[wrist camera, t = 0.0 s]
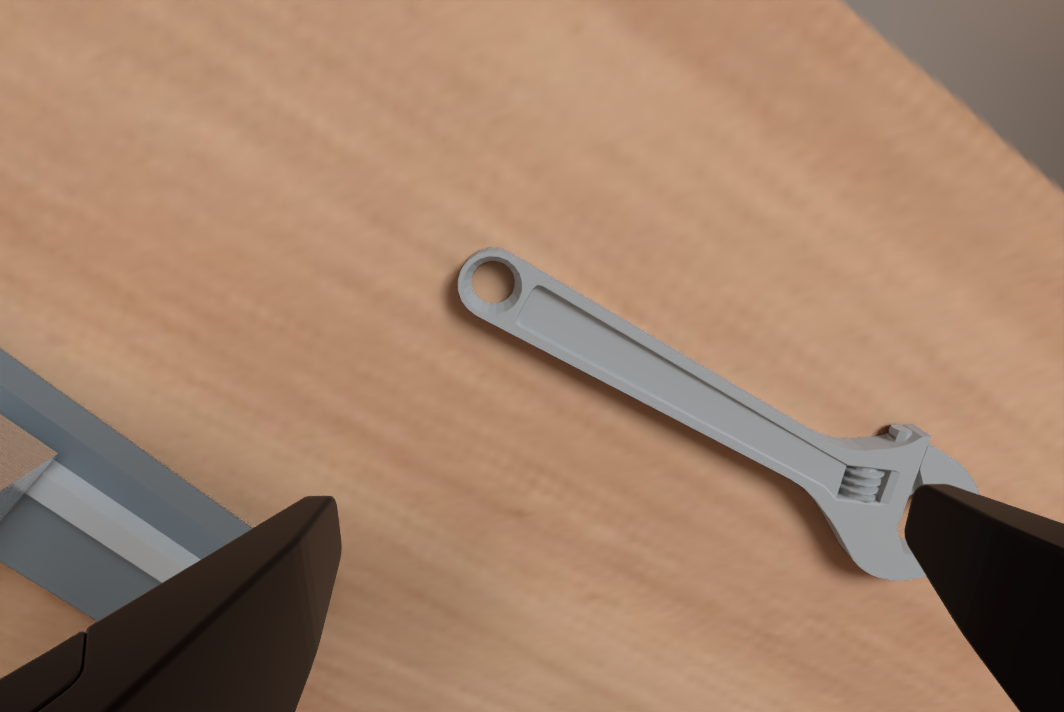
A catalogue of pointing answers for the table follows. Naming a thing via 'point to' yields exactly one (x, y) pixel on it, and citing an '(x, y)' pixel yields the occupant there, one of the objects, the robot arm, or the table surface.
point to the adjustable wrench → (730, 413)
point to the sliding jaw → (19, 463)
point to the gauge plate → (99, 506)
